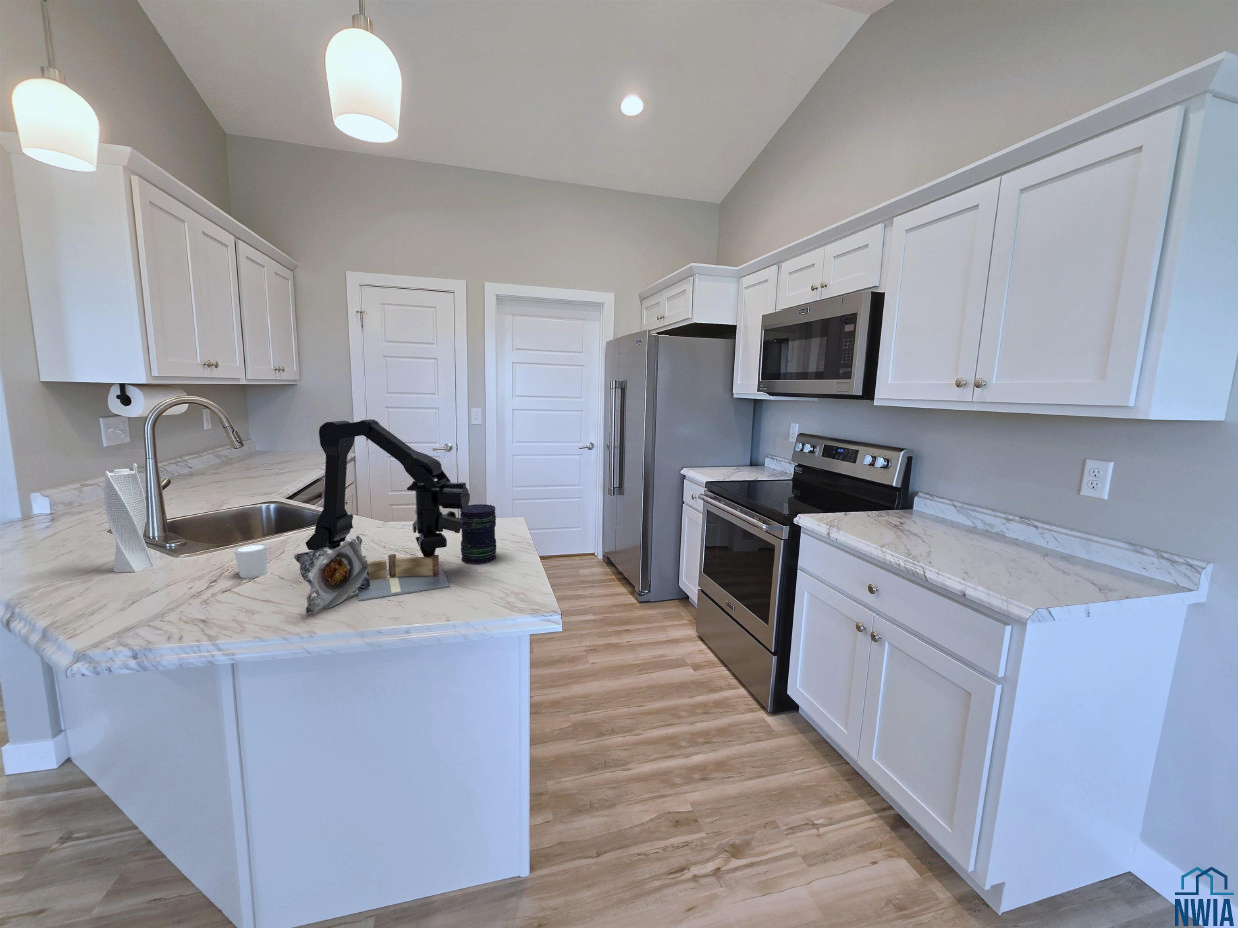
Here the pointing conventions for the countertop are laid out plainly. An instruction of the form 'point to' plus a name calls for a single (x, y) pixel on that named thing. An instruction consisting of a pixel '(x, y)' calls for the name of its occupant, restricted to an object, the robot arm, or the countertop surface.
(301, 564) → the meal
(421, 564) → the rail
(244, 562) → the white cylinder
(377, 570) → the fixed fence rail
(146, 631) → the countertop surface
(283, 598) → the countertop surface
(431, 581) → the board
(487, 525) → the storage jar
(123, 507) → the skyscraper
